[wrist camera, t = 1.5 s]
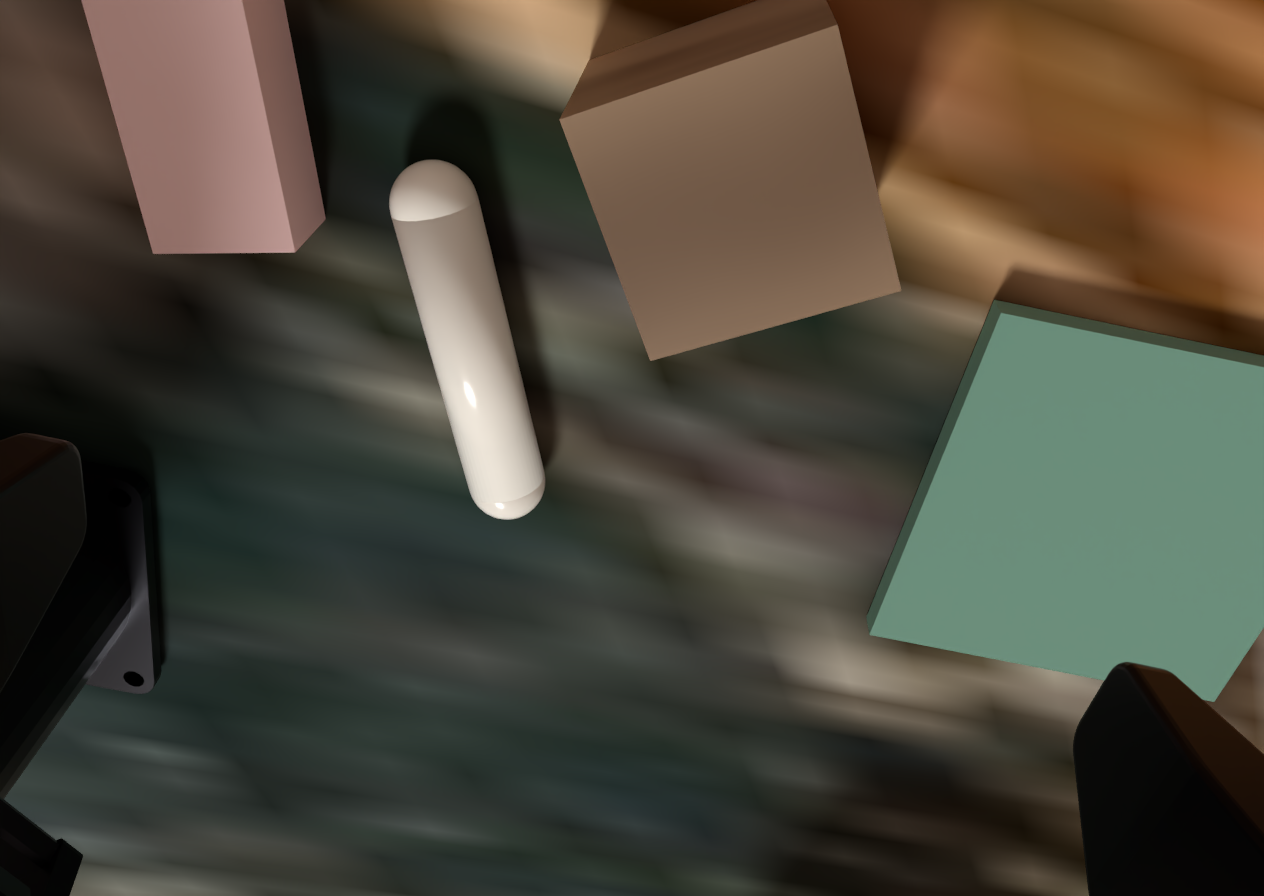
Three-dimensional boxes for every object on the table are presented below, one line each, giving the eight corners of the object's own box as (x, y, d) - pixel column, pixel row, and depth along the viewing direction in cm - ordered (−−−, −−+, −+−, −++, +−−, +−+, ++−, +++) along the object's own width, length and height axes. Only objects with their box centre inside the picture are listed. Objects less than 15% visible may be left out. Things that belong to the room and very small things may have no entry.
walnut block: (871, 203, 20) (901, 290, 16) (662, 266, 21) (650, 360, 17) (816, -22, 18) (837, 24, 14) (589, 58, 19) (559, 119, 15)
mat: (1203, 682, 25) (1213, 702, 24) (866, 616, 25) (869, 634, 24) (1398, 383, 21) (1415, 399, 20) (994, 299, 20) (1001, 312, 20)
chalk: (556, 487, 23) (546, 531, 22) (485, 494, 24) (471, 538, 22) (475, 142, 20) (456, 169, 18) (391, 155, 20) (367, 182, 19)
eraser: (329, 214, 21) (295, 252, 19) (199, 216, 21) (153, 254, 19) (275, -74, 18) (229, -60, 16) (126, -69, 18) (66, -54, 17)
